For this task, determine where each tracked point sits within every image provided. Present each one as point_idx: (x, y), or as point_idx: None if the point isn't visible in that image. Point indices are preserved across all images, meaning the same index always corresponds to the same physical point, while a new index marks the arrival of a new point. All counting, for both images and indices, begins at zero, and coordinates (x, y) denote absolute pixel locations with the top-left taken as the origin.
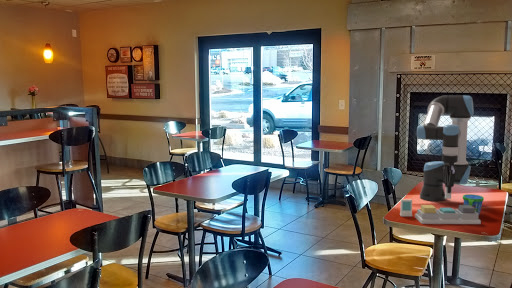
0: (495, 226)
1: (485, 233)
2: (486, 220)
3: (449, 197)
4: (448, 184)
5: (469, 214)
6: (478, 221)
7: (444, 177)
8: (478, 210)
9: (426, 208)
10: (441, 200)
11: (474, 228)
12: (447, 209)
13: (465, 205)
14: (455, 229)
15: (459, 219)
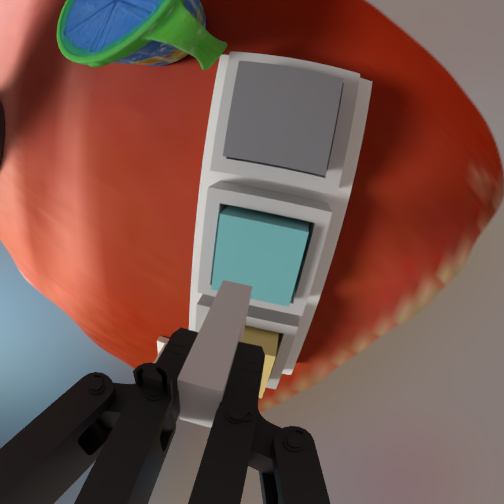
0: (412, 46)
1: (488, 182)
2: (299, 14)
3: (247, 309)
4: (272, 479)
5: (348, 136)
6: (368, 95)
7: (78, 475)
8: (200, 3)
9: (264, 389)
10: (3, 116)
11: (427, 176)
12: (263, 266)
13: (242, 104)
14: (410, 277)
15: (332, 200)
